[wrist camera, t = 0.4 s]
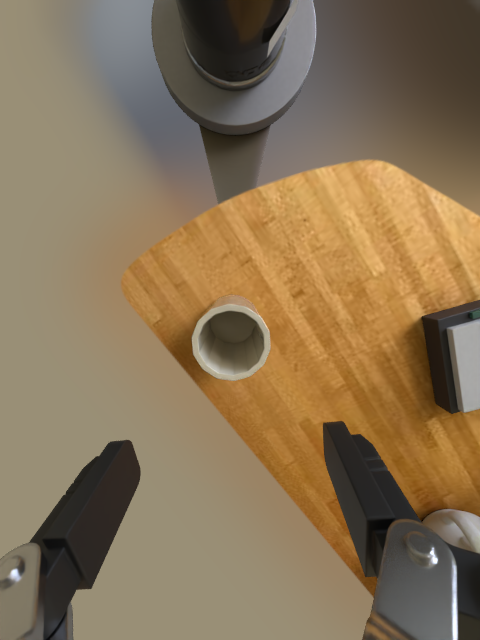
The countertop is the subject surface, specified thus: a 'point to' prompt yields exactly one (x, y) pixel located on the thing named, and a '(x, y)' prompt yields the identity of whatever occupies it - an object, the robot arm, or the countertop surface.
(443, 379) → the scale
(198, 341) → the tumbler
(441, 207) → the countertop surface
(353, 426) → the countertop surface
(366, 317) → the countertop surface
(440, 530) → the teacup
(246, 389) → the countertop surface
